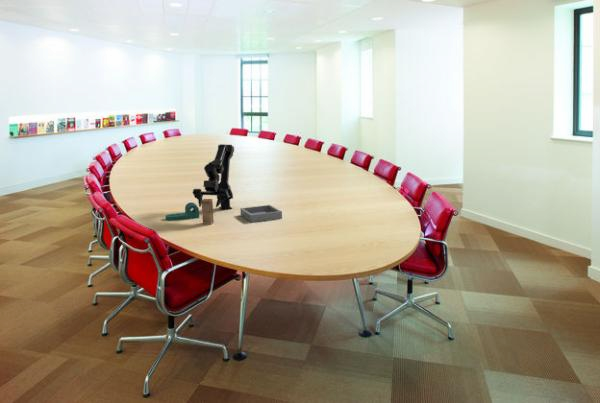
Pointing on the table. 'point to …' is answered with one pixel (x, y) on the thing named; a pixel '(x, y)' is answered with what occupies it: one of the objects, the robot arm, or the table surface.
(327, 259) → the table surface
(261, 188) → the table surface
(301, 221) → the table surface
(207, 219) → the brown tall block
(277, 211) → the box
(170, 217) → the bracket
